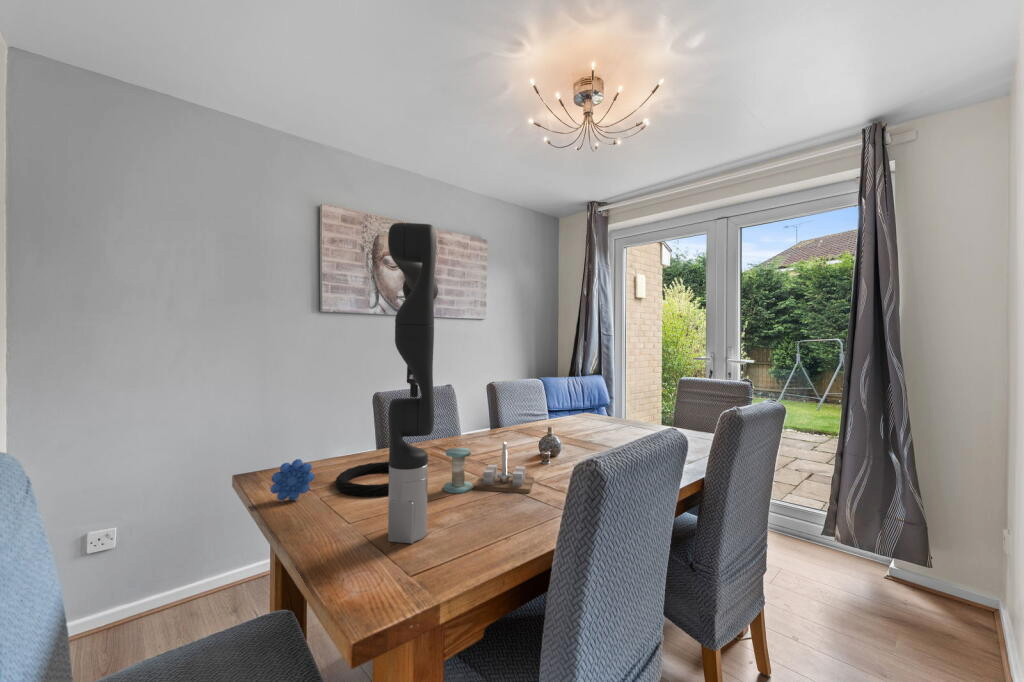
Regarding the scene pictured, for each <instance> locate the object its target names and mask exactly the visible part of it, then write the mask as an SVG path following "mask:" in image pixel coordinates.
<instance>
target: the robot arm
mask: <svg viewBox="0 0 1024 682" xmlns="http://www.w3.org/2000/svg"><path fill="white" fill-rule="evenodd" d="M387 234H388V236H387V247H388V253H389V256H390V257H391V260H392V261H393V262H394V264H395V265H396V267H397V268H398V269H399V270H400V271H401V272H402V274H403V275H404V279H405V280H404V281H403V284H402V293H403V297H404V301H403V302H402V304H401V306H400V307H399V309H398V311H397V312H396V315H395V319H394V343H395V347H396V349H397V352H398V353H399V355H400V356H401V358H402V359H403V361H404V362H405V365H407V366H406V383H407V384H409V387H410V389H409V396H410V397H409V398H407V397H403V398H393V399H392V400H391V401H390V402H389V405H388V410H387V422H388V423H387V424H388V439H389V440H388V441H389V443H388V444H389V446H388V448H389V449H388V453H389V455H388V462H389V472H388V483H389V495H388V503H387V504H388V510H387V511H388V512H387V513H388V516H387V518H388V519H387V520H388V523H387V527H388V528H387V542H391V543H403V544H414V542H417V541H420V540H422V539H424V538H425V537H426V536H427V534H428V470H429V469H428V464H429V463H428V462H429V461H428V460H429V458H428V456H429V455H428V452H427V451H426V450H425V449H422V448H421V447H417V446H414V445H411V444H410V443H408V442H406V441H405V440H404V439H403V438H405V437H427V436H430V435H431V434H433V431H434V427H435V402H434V401H435V399H434V397H435V395H434V379H433V378H434V375H433V374H434V373H433V370H434V369H433V368H434V367H433V366H434V365H433V364H434V344H435V312H434V311H435V310H434V309H435V306H434V305H435V304H434V301H435V299H436V298H437V297H438V292H439V287H438V284H437V282H436V280H435V273H436V271H435V270H436V258H437V257H436V255H437V233H436V229H435V227H434V226H433V225H432V224H429V223H417V222H415V223H413V222H395V223H393V224H392V225H390V227H389V230H388V233H387ZM419 392H420V397H419Z"/></svg>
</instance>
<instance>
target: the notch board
mask: <svg viewBox="0 0 1024 682" xmlns="http://www.w3.org/2000/svg"><path fill="white" fill-rule="evenodd" d="M497 474H498V464H488V465H487V466H486V467H485V469H484V470H483V473H481V475H480V476H479V477H478V478H477V480H476V482H475V483H474V484H473V485H472V490H475V491H476V490H478V491H492V492H507V493H522V494H523V493H524V494H530V493H531V491H532V488H533V484H534V482H535V477H533V476H526V466H520V465H519V466H517V465H516V466H515V469H514V470H513V472H512V477H510V478H509V479H508V482H507V483H502V482H500V478H498V477H497Z"/></svg>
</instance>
